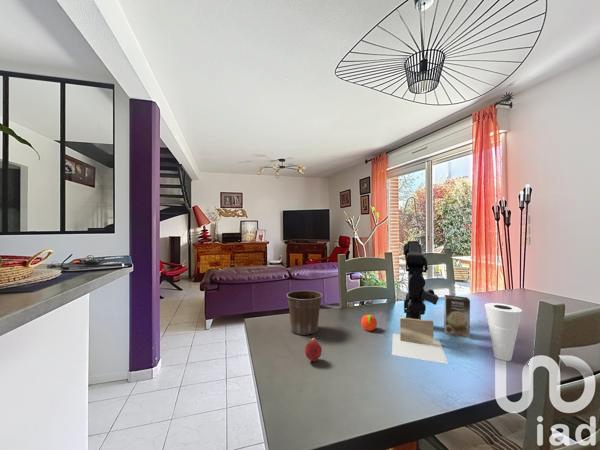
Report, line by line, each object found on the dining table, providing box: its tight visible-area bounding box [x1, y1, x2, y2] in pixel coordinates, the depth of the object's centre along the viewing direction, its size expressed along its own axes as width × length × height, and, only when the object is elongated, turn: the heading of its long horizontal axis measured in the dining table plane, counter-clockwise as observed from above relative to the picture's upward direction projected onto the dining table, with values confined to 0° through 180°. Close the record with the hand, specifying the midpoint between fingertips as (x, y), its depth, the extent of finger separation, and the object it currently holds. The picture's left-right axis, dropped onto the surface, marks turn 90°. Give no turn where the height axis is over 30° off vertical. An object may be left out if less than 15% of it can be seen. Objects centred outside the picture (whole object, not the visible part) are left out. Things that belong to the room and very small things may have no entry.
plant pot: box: [286, 290, 323, 336], centre depth 119 cm, size 16×16×16 cm
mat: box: [391, 333, 449, 365], centre depth 101 cm, size 20×18×1 cm
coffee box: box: [443, 294, 471, 339], centre depth 114 cm, size 9×6×16 cm
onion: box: [304, 337, 323, 362], centre depth 91 cm, size 6×6×8 cm
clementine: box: [360, 314, 378, 332], centre depth 118 cm, size 8×7×7 cm
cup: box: [484, 302, 523, 362], centre depth 94 cm, size 11×11×18 cm
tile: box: [399, 316, 434, 345], centre depth 105 cm, size 2×12×9 cm, turn 70°
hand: (415, 321), depth 110 cm, fingers closed
